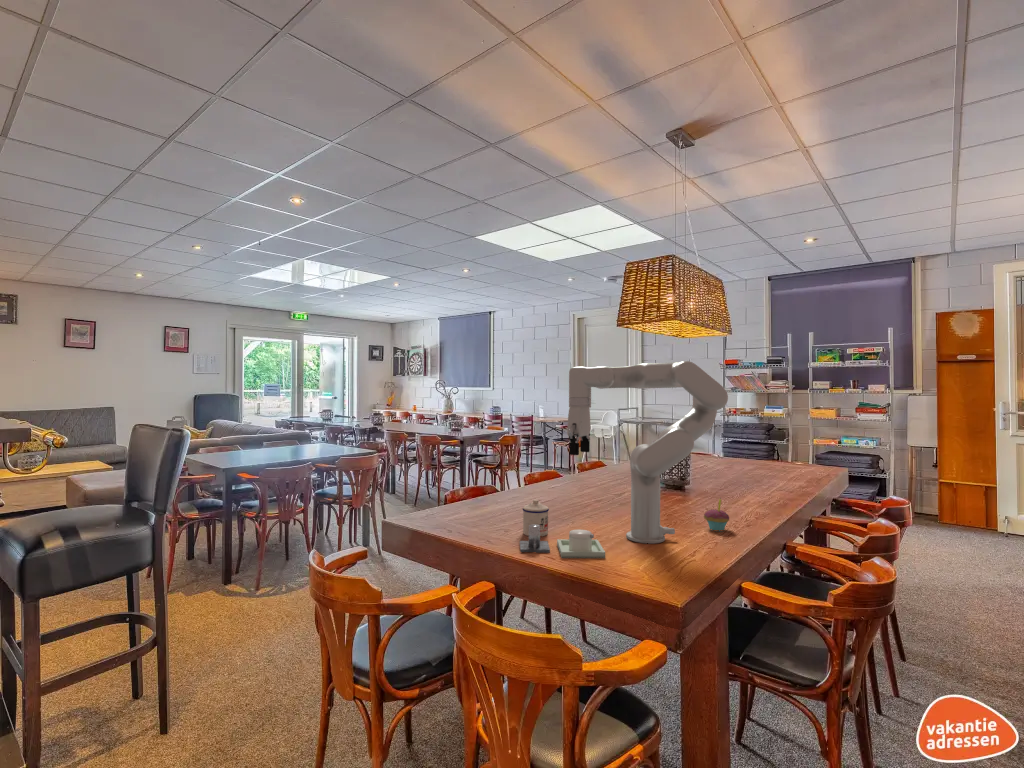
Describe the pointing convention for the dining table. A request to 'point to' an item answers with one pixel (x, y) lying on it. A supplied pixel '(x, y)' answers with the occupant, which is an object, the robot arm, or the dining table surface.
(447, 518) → the dining table surface
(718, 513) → the cupcake
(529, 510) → the teacup with lid
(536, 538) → the post stand
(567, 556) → the tray
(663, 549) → the dining table surface
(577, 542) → the white earbud case
